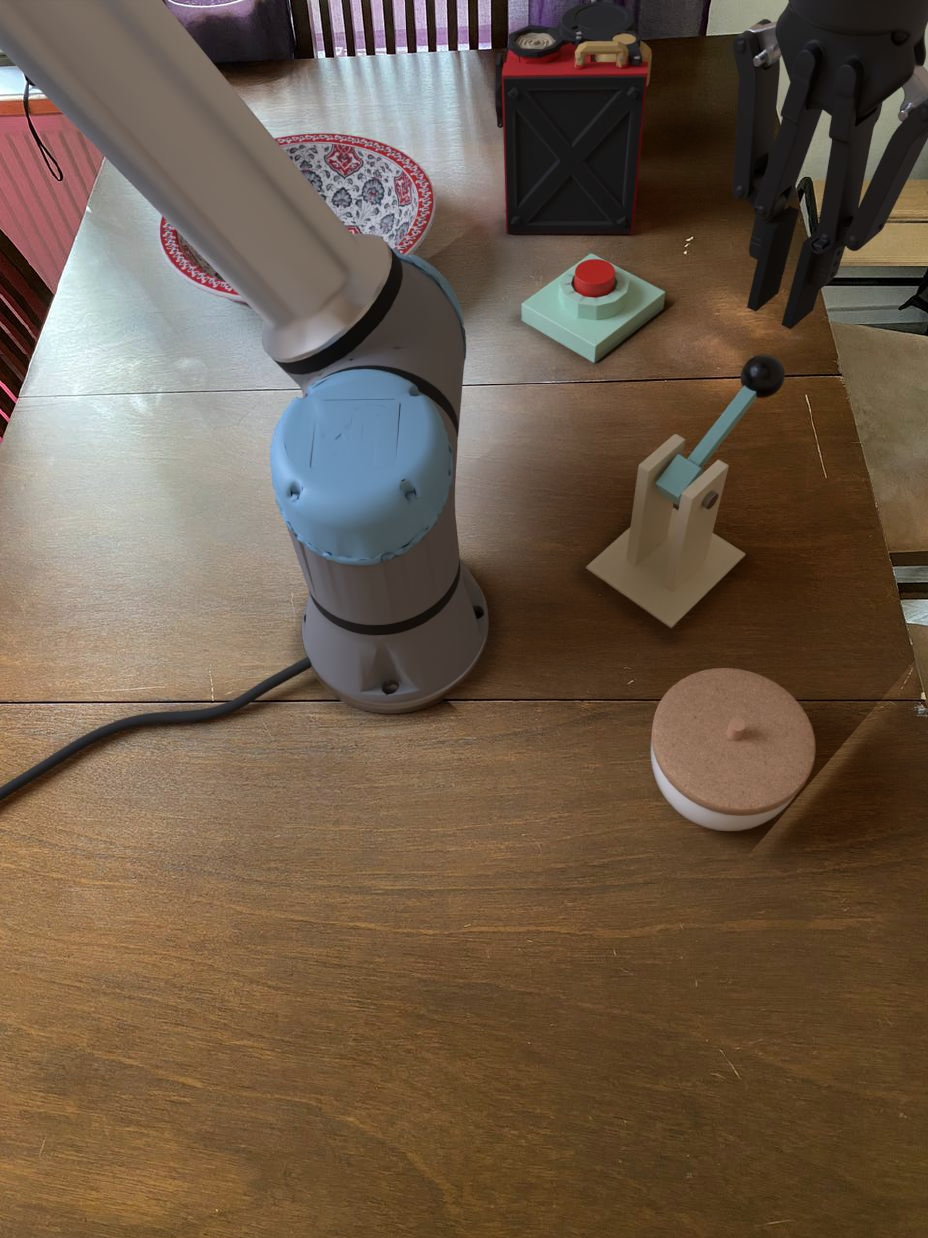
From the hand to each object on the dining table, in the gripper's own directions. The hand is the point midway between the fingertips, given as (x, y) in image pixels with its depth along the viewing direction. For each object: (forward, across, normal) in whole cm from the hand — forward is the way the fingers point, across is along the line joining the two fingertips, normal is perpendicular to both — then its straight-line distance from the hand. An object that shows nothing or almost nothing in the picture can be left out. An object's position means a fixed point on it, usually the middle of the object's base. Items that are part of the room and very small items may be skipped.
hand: (780, 307), depth 68 cm
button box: (+21, +26, -12) cm, 36 cm away
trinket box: (+22, -15, +22) cm, 34 cm away
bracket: (+21, 0, +9) cm, 23 cm away
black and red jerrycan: (+22, +40, -24) cm, 51 cm away
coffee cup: (+22, +46, -35) cm, 62 cm away
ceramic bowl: (+22, +54, +3) cm, 58 cm away
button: (+18, +26, -12) cm, 34 cm away
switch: (+10, 0, +4) cm, 11 cm away
